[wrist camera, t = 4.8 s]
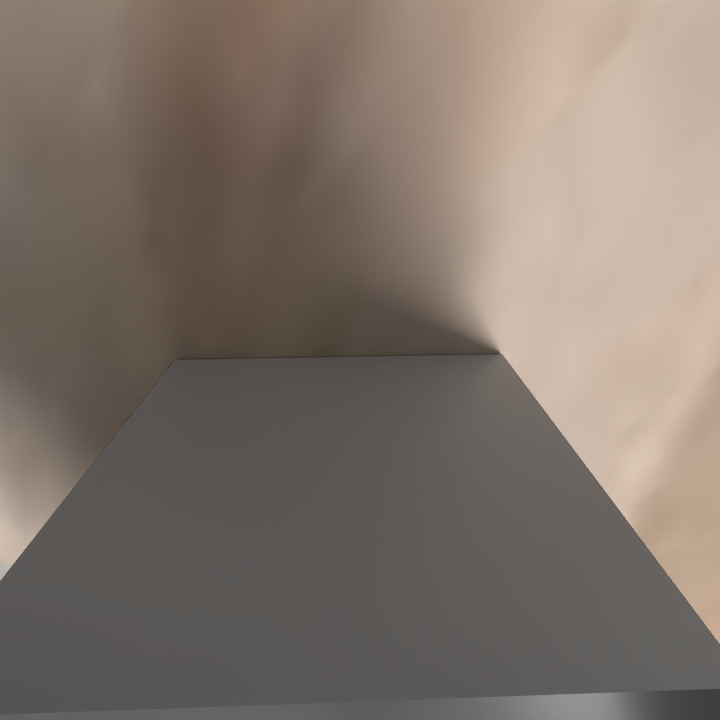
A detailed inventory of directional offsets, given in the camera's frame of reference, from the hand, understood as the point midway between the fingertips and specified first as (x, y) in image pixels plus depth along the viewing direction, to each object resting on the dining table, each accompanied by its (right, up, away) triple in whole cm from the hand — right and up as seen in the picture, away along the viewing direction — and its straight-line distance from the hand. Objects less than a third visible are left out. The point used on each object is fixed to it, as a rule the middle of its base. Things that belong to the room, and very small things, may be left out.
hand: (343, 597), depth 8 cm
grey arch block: (0, +1, +3) cm, 3 cm away
